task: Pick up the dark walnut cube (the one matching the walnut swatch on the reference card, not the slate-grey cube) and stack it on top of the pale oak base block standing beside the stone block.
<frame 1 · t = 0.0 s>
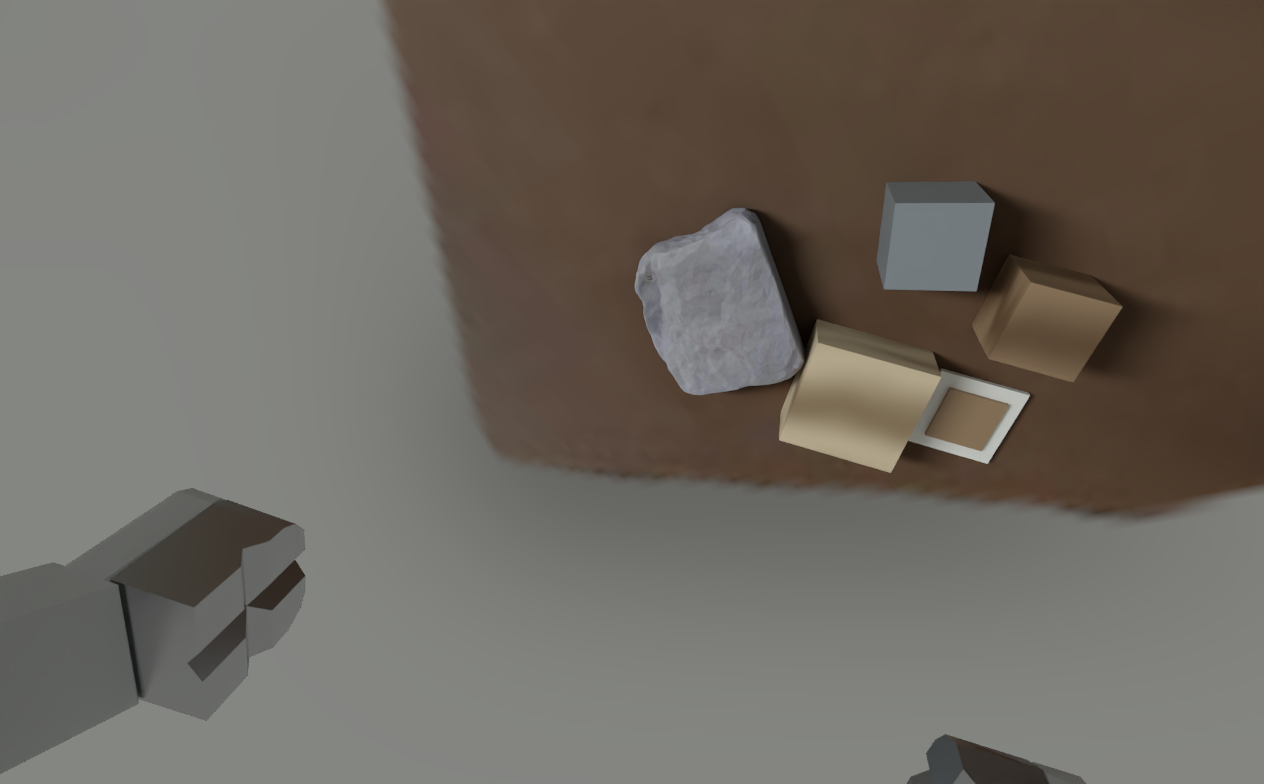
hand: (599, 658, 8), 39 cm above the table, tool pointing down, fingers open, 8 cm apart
walnut cube: (1028, 300, 43), on the table
oak base block: (852, 381, 48), on the table
stone block: (717, 301, 48), on the table
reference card: (964, 415, 47), on the table
slate cube: (923, 222, 42), on the table
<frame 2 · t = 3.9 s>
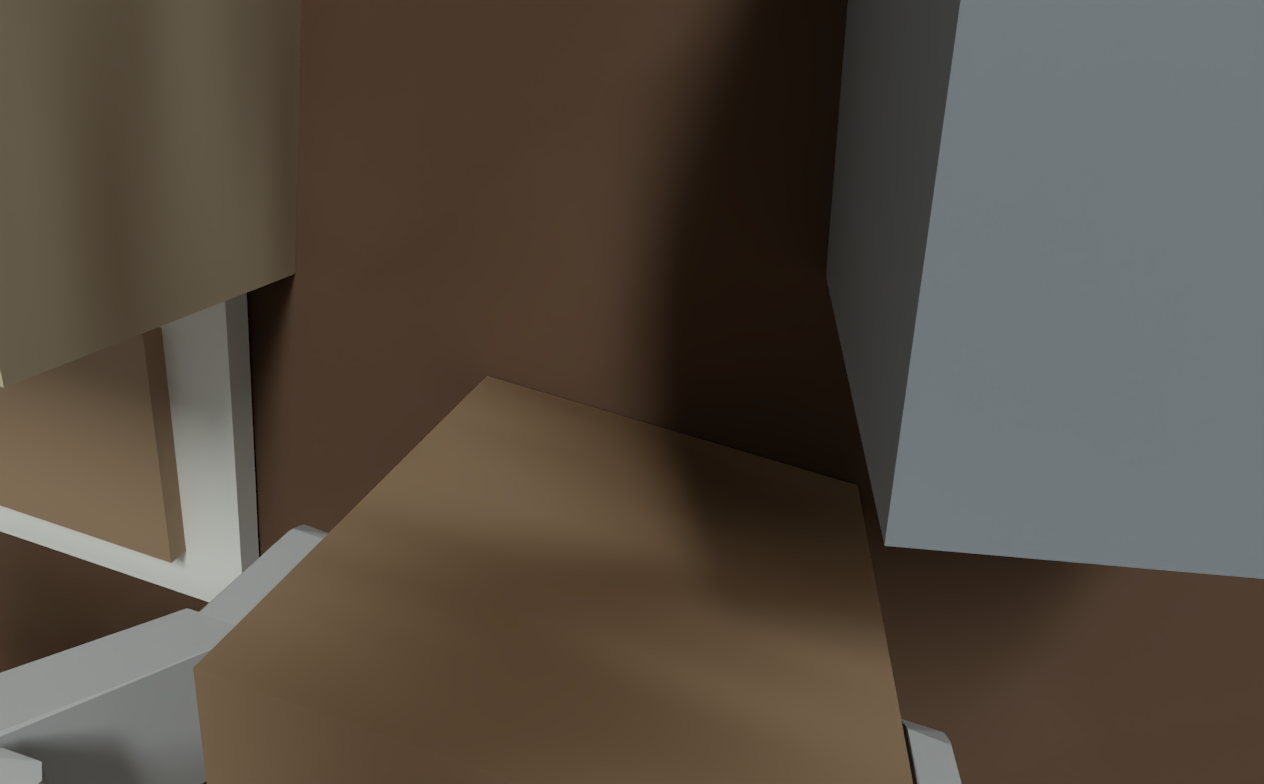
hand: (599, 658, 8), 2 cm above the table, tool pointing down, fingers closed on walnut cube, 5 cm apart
walnut cube: (627, 573, 10), on the table, touching gripper
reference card: (81, 400, 11), on the table
slate cube: (1132, 6, 6), on the table
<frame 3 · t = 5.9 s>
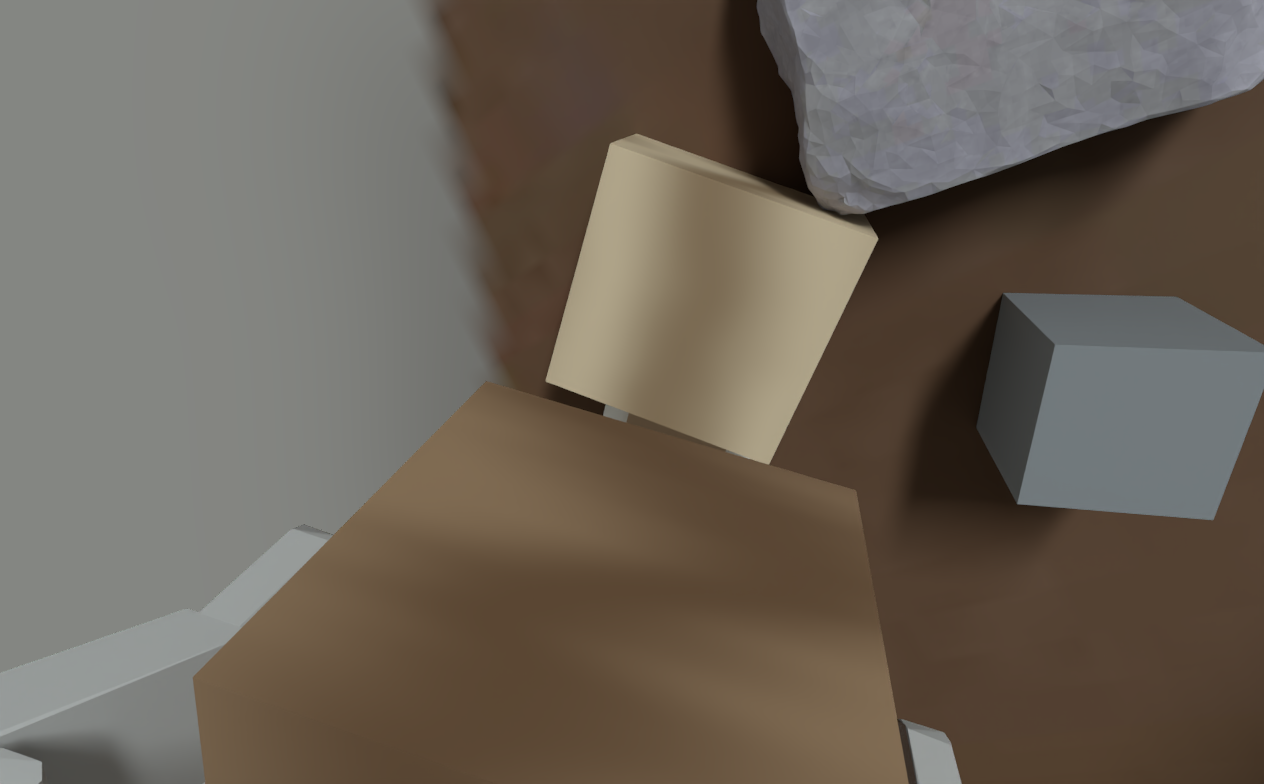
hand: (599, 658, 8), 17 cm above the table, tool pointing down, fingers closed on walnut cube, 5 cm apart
walnut cube: (626, 577, 10), point 16 cm above the table, touching gripper
oak base block: (708, 282, 24), on the table, touching stone block
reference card: (670, 456, 27), on the table
slate cube: (1068, 365, 23), on the table
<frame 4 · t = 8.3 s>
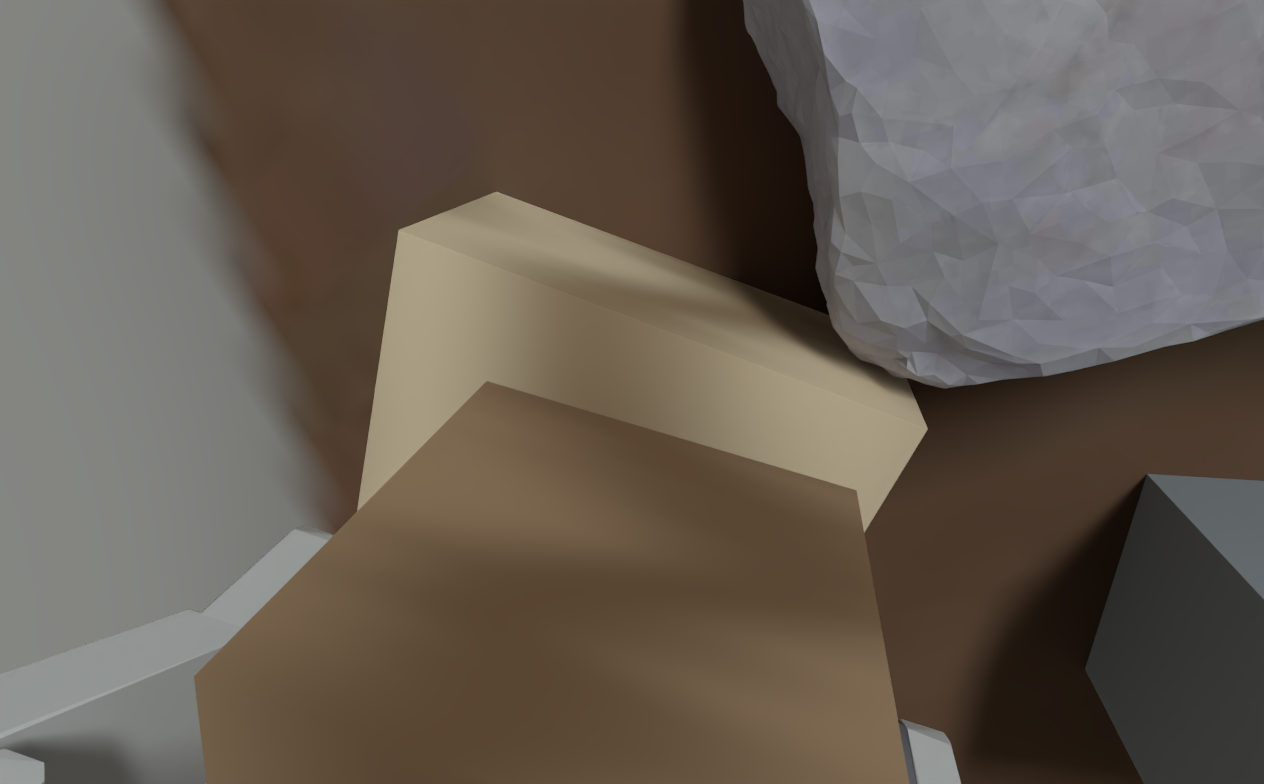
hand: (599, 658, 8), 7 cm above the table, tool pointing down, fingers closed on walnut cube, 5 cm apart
walnut cube: (626, 577, 10), point 5 cm above the table, touching gripper
oak base block: (630, 427, 15), on the table
slate cube: (1252, 588, 13), on the table
when the fingers open (7 cm above the table, at t = 8.3 s): walnut cube drops 1 cm, resting on oak base block.
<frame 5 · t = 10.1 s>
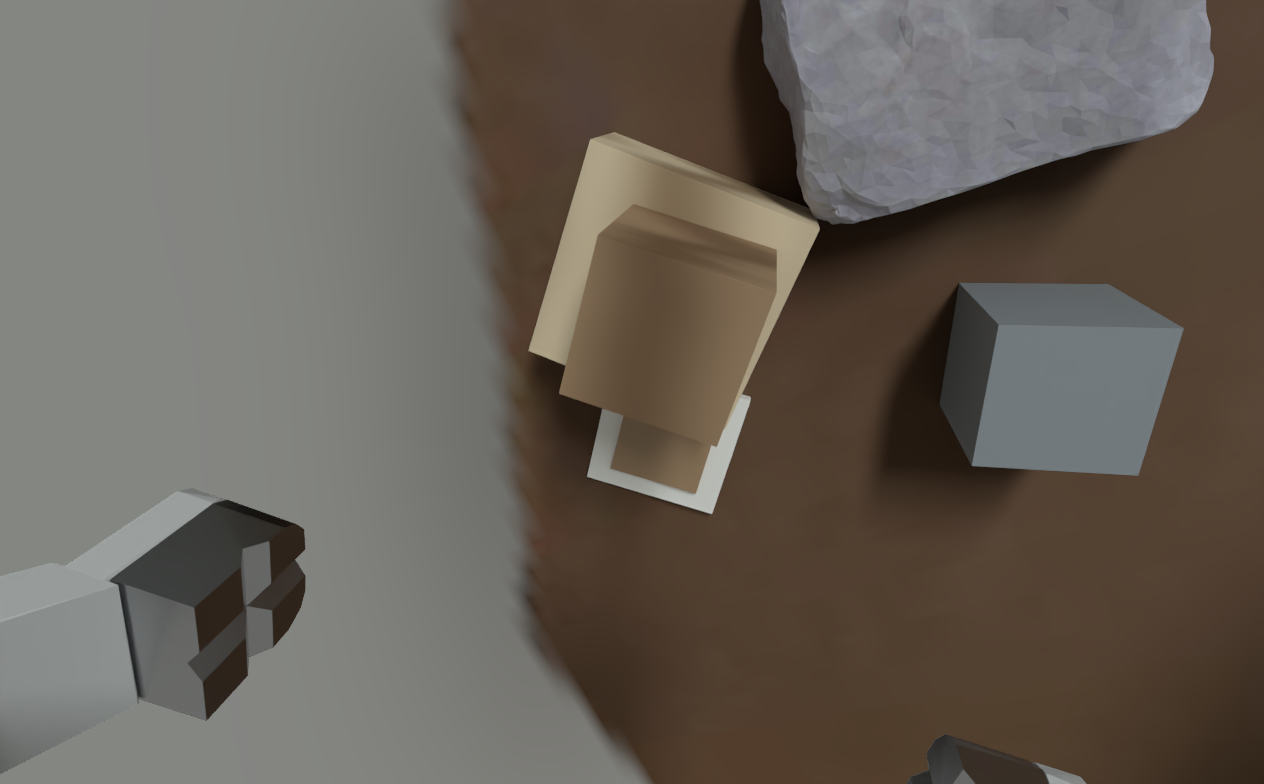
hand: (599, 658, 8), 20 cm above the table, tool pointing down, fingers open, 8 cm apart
walnut cube: (682, 295, 23), point 4 cm above the table, touching oak base block
oak base block: (677, 267, 27), on the table, touching walnut cube
stone block: (948, 21, 22), on the table
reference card: (665, 436, 30), on the table
slate cube: (1018, 347, 26), on the table
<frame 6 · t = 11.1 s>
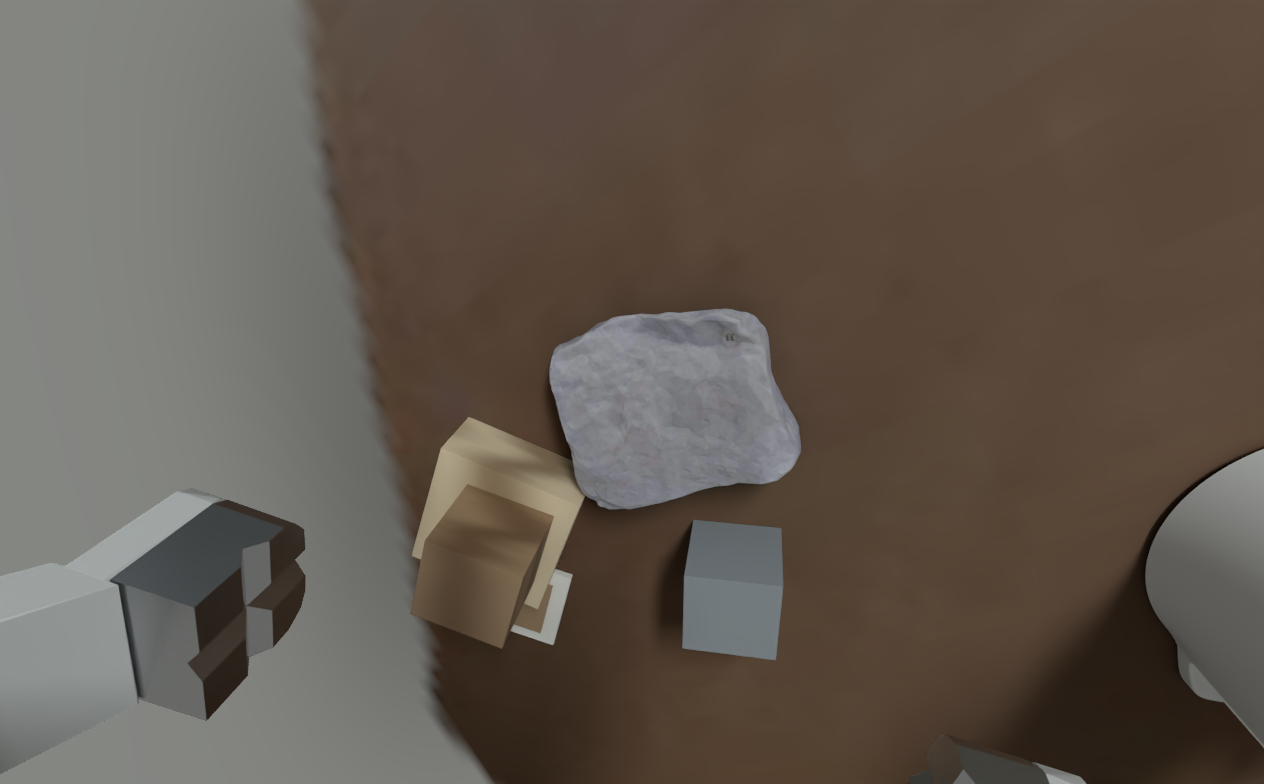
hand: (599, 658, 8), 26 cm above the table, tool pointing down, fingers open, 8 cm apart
walnut cube: (501, 534, 37), point 4 cm above the table, touching oak base block
oak base block: (515, 493, 41), on the table, touching walnut cube
stone block: (672, 384, 36), on the table
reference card: (520, 594, 44), on the table
slate cube: (734, 558, 40), on the table
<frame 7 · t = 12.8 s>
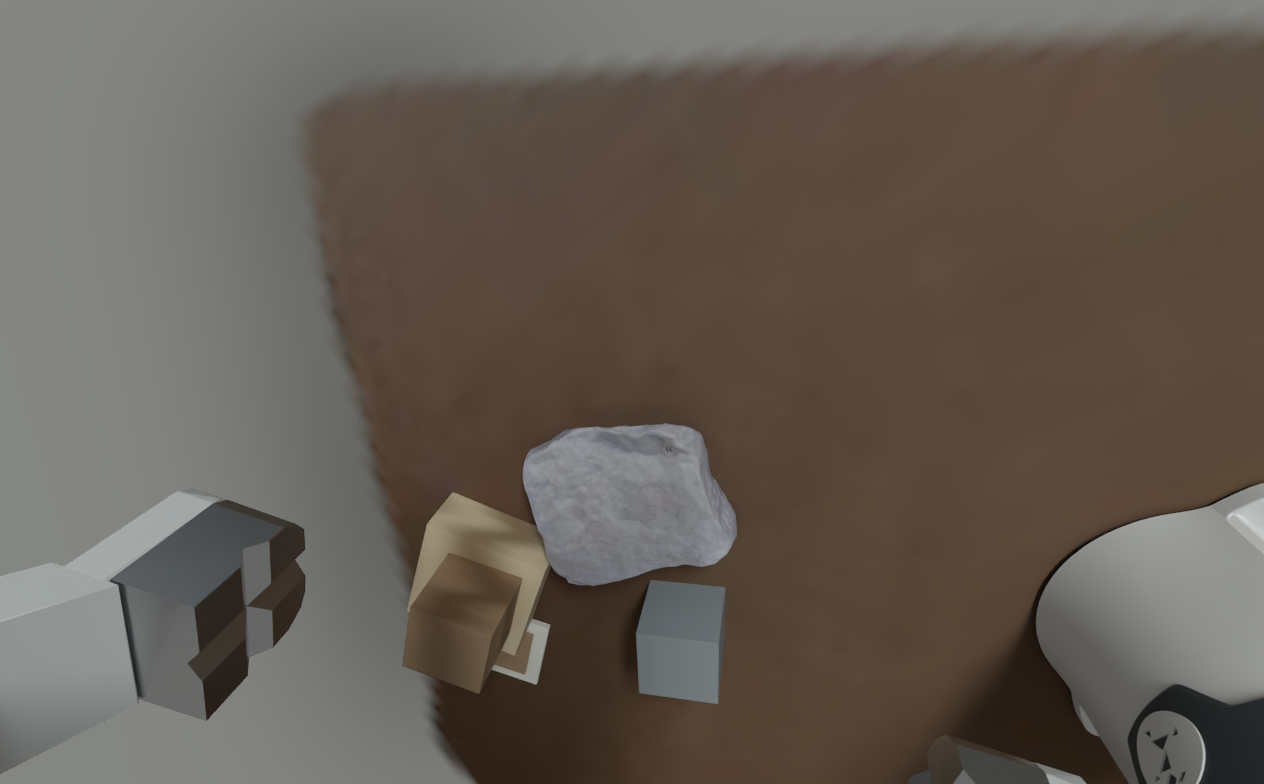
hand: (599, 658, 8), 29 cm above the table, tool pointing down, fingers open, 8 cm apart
walnut cube: (479, 593, 44), point 4 cm above the table, touching oak base block
oak base block: (496, 554, 47), on the table, touching walnut cube
stone block: (629, 477, 43), on the table
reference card: (506, 640, 50), on the table
slate cube: (687, 611, 46), on the table
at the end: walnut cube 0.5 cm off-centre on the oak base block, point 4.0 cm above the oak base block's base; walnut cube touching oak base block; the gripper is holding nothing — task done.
